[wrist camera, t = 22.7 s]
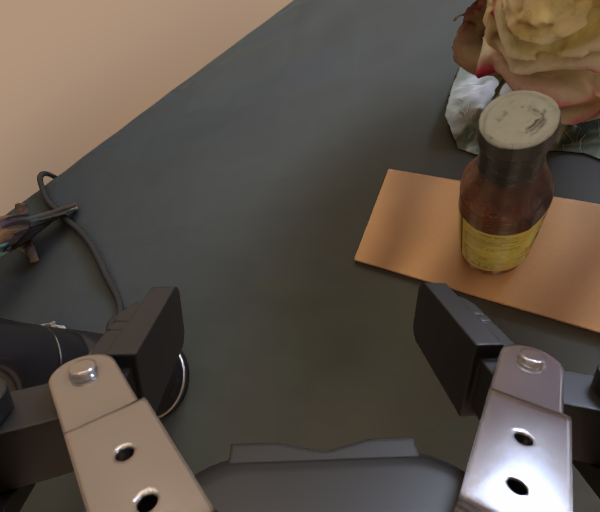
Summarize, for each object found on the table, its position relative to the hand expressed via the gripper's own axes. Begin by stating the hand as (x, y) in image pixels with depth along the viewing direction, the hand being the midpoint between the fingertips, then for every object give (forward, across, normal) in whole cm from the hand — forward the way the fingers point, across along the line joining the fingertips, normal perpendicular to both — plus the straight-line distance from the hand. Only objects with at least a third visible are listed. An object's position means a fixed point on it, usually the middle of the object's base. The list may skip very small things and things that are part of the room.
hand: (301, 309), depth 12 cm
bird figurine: (+54, -44, -16) cm, 72 cm away
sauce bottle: (+23, +21, -7) cm, 32 cm away
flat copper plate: (+24, +20, -6) cm, 32 cm away
